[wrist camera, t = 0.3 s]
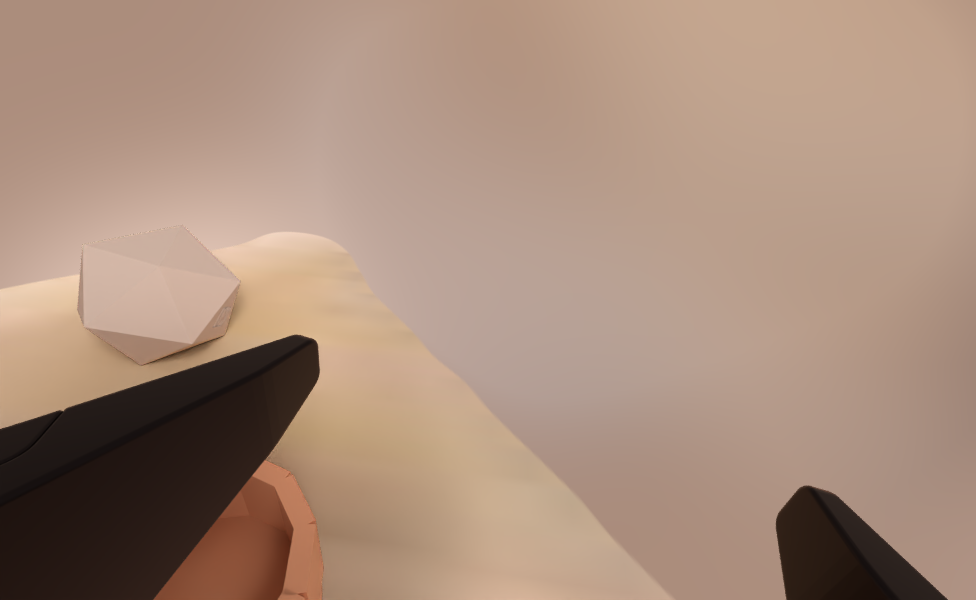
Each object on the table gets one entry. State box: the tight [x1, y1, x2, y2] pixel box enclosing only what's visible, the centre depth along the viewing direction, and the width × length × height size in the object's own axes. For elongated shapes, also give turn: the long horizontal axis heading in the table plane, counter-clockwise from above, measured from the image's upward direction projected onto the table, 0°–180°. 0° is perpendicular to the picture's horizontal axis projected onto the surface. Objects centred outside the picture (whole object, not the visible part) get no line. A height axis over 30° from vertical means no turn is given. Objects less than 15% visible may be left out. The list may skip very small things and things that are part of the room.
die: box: [77, 225, 241, 365], centre depth 27 cm, size 8×9×10 cm
